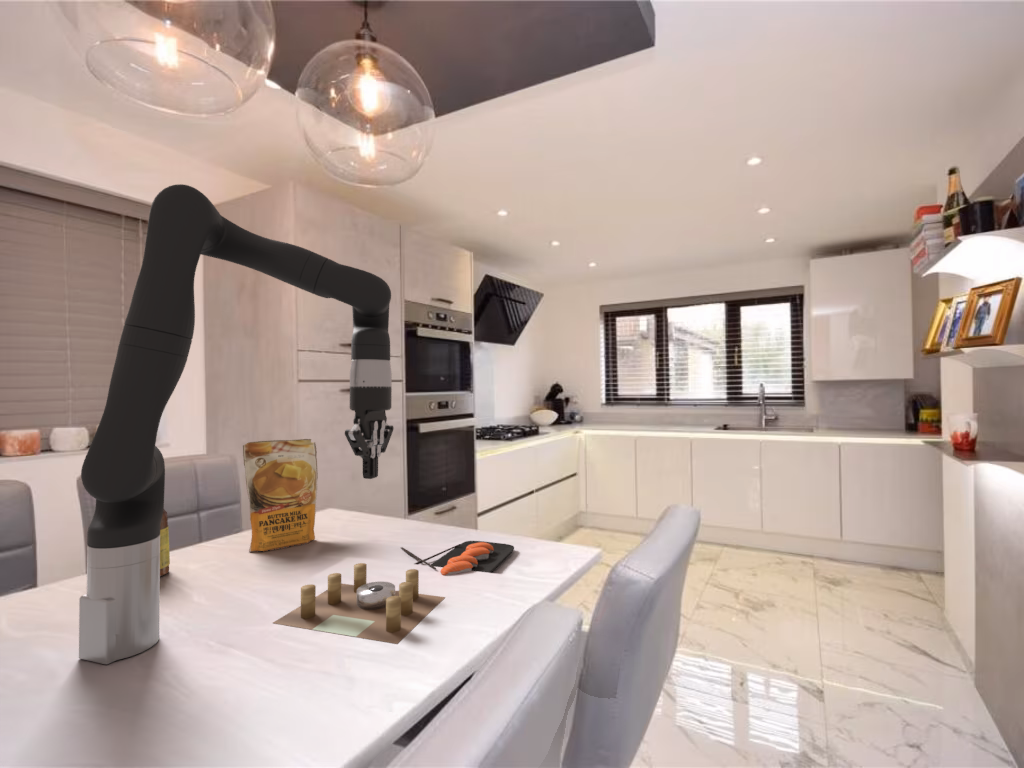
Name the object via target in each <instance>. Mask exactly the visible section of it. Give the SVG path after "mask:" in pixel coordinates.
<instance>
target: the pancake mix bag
mask: <svg viewBox="0 0 1024 768" xmlns="http://www.w3.org/2000/svg"><path fill="white" fill-rule="evenodd" d="M242 456H243V466H244V471H245V484H246V492H247V496H248V503H249V520H250V525H251V539H250V545H249V550H248V552H258V551H263V552H268V550H270V551H274V549H275V550H280V549H279V548H281V549H285V548H284V547H286V548H290V547H289V546H291V547H295V546H294V545H297V546H301V544H302V545H306V544H309V543H310V542H312V541H315V540H316V534H315V524H316V523H315V522H316V514H317V512H316V511H317V510H316V508H317V507H316V506H317V505H316V504H317V496H318V495H317V493H318V492H317V491H318V458H317V445H316V442H315V441H312V439H311V438H304V439H303V438H300V439H290V440H289V439H274V440H260V441H250V442H247V443H245V444H243V445H242ZM305 543H306V544H305Z"/></svg>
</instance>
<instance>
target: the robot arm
mask: <svg viewBox="0 0 1024 768" xmlns="http://www.w3.org/2000/svg"><path fill="white" fill-rule="evenodd" d="M220 213H221V212H219V210H218V209H217V208H216V206H215V205H214V204H213V202H212V201H211V200H210V199H209V198H208V197H207V196H206V195H205V194H204V193H203V192H202V191H200V190H198V189H197V188H195V187H194V186H192V185H191V186H190V185H189V184H182V183H181V184H179V183H178V184H173V185H169V186H167V187H165V188H163V189H161V190H160V192H158V194H157V195H156V196H155V197H154V199H153V200H152V203H151V205H150V209H149V215H148V222H147V232H146V239H145V244H144V245H145V246H144V252H143V253H144V254H143V256H142V261H141V262H142V263H141V266H140V269H139V274H138V276H137V280H136V283H135V285H134V286H135V287H134V290H133V293H132V294H133V295H132V298H131V302H130V305H129V308H128V311H127V315H126V318H125V322H124V325H123V329H122V332H121V334H120V335H121V336H120V339H119V343H118V346H117V353H116V357H115V359H114V364H113V369H112V372H111V373H112V374H111V378H110V383H109V387H108V392H107V397H106V403H105V406H104V410H103V413H102V415H101V416H102V417H101V419H100V421H99V424H98V426H97V429H96V431H95V433H94V437H93V439H92V440H91V443H90V446H89V448H88V450H87V452H86V455H85V457H84V459H83V463H82V466H81V471H80V479H81V483H82V486H83V488H84V489H85V491H86V492H87V493H88V494H89V495H90V496H91V497H92V498H94V499H95V508H94V509H95V510H94V514H93V517H92V520H91V522H90V524H89V526H88V529H87V533H86V535H87V536H86V537H87V539H86V540H87V542H86V544H87V546H86V553H87V554H86V556H87V557H86V594H82V595H81V596H80V597H79V599H78V600H79V603H78V605H79V612H78V617H79V619H78V624H79V625H78V631H79V632H78V659H80V660H85V661H89V662H94V663H98V664H103V665H108V664H111V663H113V662H115V661H119V660H122V659H123V660H124V659H127V658H129V657H134V656H135V655H138V654H141V653H143V652H145V651H147V650H148V649H150V648H152V647H153V646H155V645H156V644H157V643H158V641H159V639H160V611H161V610H160V602H161V601H160V596H161V593H160V592H161V591H160V590H161V589H160V588H161V587H160V586H161V585H160V584H161V576H160V526H161V520H162V516H163V510H165V489H166V488H165V485H166V483H165V482H166V481H165V480H166V468H165V467H166V465H165V459H164V455H163V454H162V451H161V450H160V449H159V448H158V446H156V442H157V436H158V430H159V426H160V423H161V420H162V419H161V418H162V415H163V413H164V411H165V408H166V407H167V404H168V402H169V400H170V398H171V396H172V395H173V393H174V392H175V389H176V386H177V385H178V383H179V381H180V379H181V377H182V375H183V372H184V369H185V367H186V364H187V362H188V357H189V355H190V349H191V345H192V343H193V338H194V332H195V321H196V309H195V308H196V307H195V303H196V302H195V276H196V271H197V267H198V265H199V264H198V263H199V260H200V258H201V255H202V256H206V257H209V258H215V259H219V260H223V261H226V262H230V263H233V264H237V265H240V266H243V267H246V268H249V269H252V270H254V271H257V272H260V273H262V274H265V275H267V276H270V277H272V278H274V279H277V280H278V281H281V282H283V283H286V284H289V285H291V286H294V287H296V288H298V289H300V290H302V291H305V292H308V293H311V294H312V295H315V296H317V297H321V298H324V299H332V300H333V299H334V300H336V301H339V302H342V303H343V304H346V305H349V306H350V307H351V309H352V310H351V311H352V329H353V331H352V335H351V342H350V343H351V345H350V347H351V348H350V352H351V353H350V356H351V357H350V359H351V361H350V369H349V409H350V410H351V411H353V412H354V416H353V420H352V421H353V426H352V427H351V429H348V428H347V429H345V430H344V436H345V438H346V440H347V442H348V444H349V446H350V447H351V450H352V453H353V454H354V455H355V456H356V457H357V456H358V457H360V458H361V459H362V478H363V479H364V480H365V479H367V480H368V479H369V480H371V479H372V480H373V479H376V478H377V477H379V458H380V457H381V454H382V453H383V454H384V453H386V450H387V448H388V445H389V442H390V439H391V438H392V434H393V432H394V429H395V428H394V425H390V424H389V423H387V421H388V417H387V414H386V411H390V410H391V409H392V390H393V389H392V383H393V382H392V374H393V373H392V368H391V367H392V365H391V338H390V337H391V336H390V333H389V323H390V322H389V321H390V303H391V300H392V290H391V289H390V285H389V284H388V282H386V281H385V280H384V279H383V278H381V277H380V276H378V275H377V274H373V273H372V272H370V271H366V270H364V269H360V268H357V267H353V266H350V265H346V264H341V263H339V262H336V261H335V260H333V259H330V258H328V257H326V256H323V255H321V254H319V253H316V252H314V251H312V250H310V249H307V248H304V247H303V246H302V247H301V246H299V245H296V244H292V243H288V242H284V241H280V240H275V239H273V238H271V239H270V238H267V237H265V236H261V235H258V234H257V233H253V232H251V231H249V230H247V229H245V228H242V226H239V225H237V223H234V222H233V221H231V220H229V219H228V218H226V217H224V216H222V215H221V214H220Z"/></svg>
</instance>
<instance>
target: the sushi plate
mask: <svg viewBox="0 0 1024 768" xmlns="http://www.w3.org/2000/svg"><path fill="white" fill-rule="evenodd" d="M400 549H401V550H402V551H403V552H404V553H405V554H407V555H409V556H411V557H412V558H414V559H416V560H419V561H417V562H415V563H414V565H420V564H422V563H424V564H425V565H427V566H428V567H431V568H432V569H434V570H436V569H437V568H441V569H440V574H441V575H442V576H450V575H455V574H460V573H468V572H481V573H489V574H491V573H492V572H493V571H494V570H495V569H496V568H497V567H498V566H500V564H501V563H502V562H504V560H506V559H507V558H508V557H509V556H510V555H511V554H512V553H513V552H514V550H515V546H514V545H512V544H507V543H501V542H490V541H480V540H466V541H464V542H462V543H458V544H457V545H454V546H452V547H450V548H447V549H445V550H443V551H441V552H439V553H436V554H434V555H433V554H432V556H429V557H426V558H424V559H422V558H420V557H419V556H417V555H416V554H414V553H413V552H411V551H410V550H408V549H406V548H404V547H403V546H401V547H400ZM444 553H446V554H444ZM442 554H444V555H442ZM440 555H442V556H441V557H440V558H438V559H437V560H435V561H434V562H433V563H429V562H427V561H429V560H431V559H433V558H435V557H438V556H440ZM436 567H437V568H436Z"/></svg>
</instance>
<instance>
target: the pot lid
mask: <svg viewBox="0 0 1024 768" xmlns="http://www.w3.org/2000/svg"><path fill="white" fill-rule="evenodd" d="M395 591H396V585H395V584H394V583H392V582H389V581H372V582H366V584H364V585H362V586H360V587H359V588H358V589H357V606H358V607H359V608H361V609H365V610H376V609H382V608H385V607H386V599H387V598H388V597H391V596H395Z"/></svg>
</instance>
